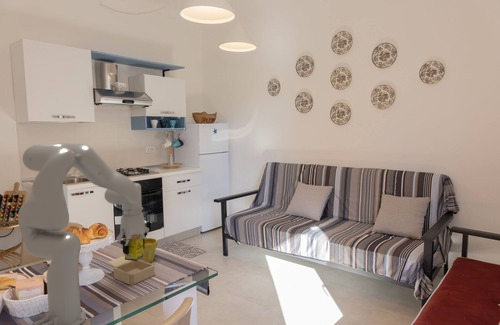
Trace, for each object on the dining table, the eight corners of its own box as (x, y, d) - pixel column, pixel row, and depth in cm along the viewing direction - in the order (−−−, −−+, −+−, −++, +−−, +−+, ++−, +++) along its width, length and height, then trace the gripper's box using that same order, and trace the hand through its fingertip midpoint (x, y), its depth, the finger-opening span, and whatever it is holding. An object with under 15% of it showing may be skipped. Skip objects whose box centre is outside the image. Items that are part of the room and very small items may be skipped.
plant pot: (161, 260, 172) (161, 241, 171) (142, 266, 165) (141, 246, 163) (151, 254, 179) (150, 236, 178) (132, 260, 172) (131, 240, 171)
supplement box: (137, 261, 150) (136, 236, 148) (124, 260, 151) (123, 235, 149) (143, 256, 155) (143, 232, 154) (131, 254, 157) (130, 231, 155)
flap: (107, 261, 155) (107, 262, 155) (115, 267, 152) (115, 267, 152) (127, 254, 164) (127, 255, 164) (135, 259, 161) (135, 259, 161)
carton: (131, 286, 145) (131, 275, 144) (113, 278, 152) (112, 268, 151) (156, 274, 156) (156, 264, 155) (138, 268, 163) (137, 258, 162)
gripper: (143, 206, 160) (144, 243, 162) (109, 214, 145) (111, 255, 148) (154, 208, 156) (155, 246, 158) (120, 217, 141) (122, 259, 143)
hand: (134, 250), depth 153 cm, fingers closed on supplement box, 7 cm apart
